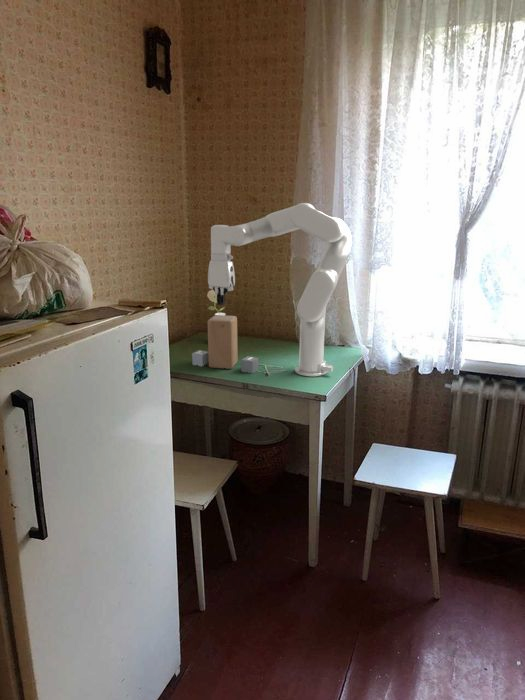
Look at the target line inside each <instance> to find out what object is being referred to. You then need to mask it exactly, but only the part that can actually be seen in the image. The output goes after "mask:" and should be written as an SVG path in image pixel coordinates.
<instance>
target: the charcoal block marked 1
mask: <svg viewBox="0 0 525 700" xmlns="http://www.w3.org/2000/svg"><path fill="white" fill-rule="evenodd" d="M240 361H241V363H240V364H241V366H240V367H241V368H240V369H241V371H242V373H247V372H248V374H254V373H255V372H257V371H259V370H260V369H259V365H260V364H259V357H254V356H249V355H248V356H246V357H244V358H242V359H241V360H240Z"/></svg>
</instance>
